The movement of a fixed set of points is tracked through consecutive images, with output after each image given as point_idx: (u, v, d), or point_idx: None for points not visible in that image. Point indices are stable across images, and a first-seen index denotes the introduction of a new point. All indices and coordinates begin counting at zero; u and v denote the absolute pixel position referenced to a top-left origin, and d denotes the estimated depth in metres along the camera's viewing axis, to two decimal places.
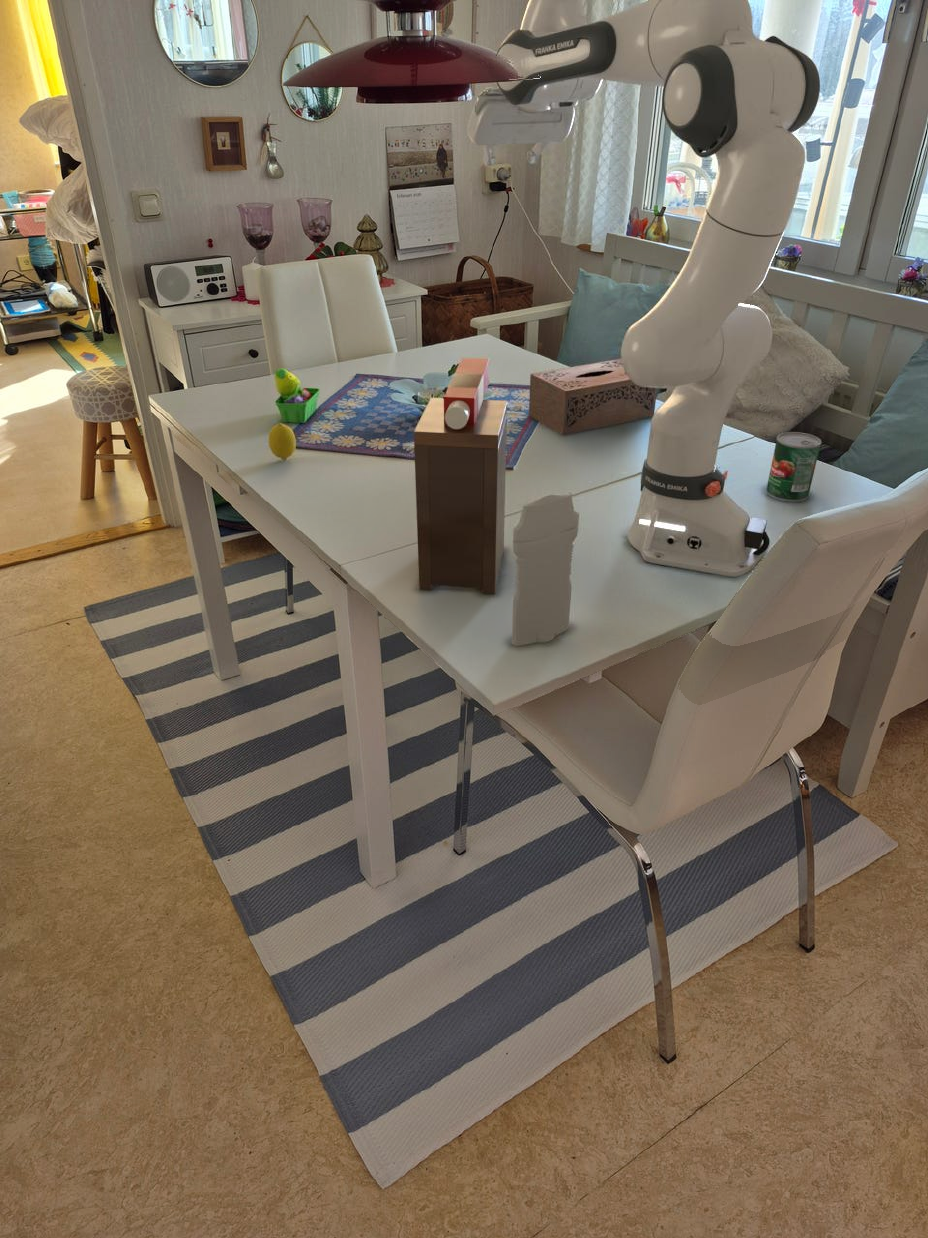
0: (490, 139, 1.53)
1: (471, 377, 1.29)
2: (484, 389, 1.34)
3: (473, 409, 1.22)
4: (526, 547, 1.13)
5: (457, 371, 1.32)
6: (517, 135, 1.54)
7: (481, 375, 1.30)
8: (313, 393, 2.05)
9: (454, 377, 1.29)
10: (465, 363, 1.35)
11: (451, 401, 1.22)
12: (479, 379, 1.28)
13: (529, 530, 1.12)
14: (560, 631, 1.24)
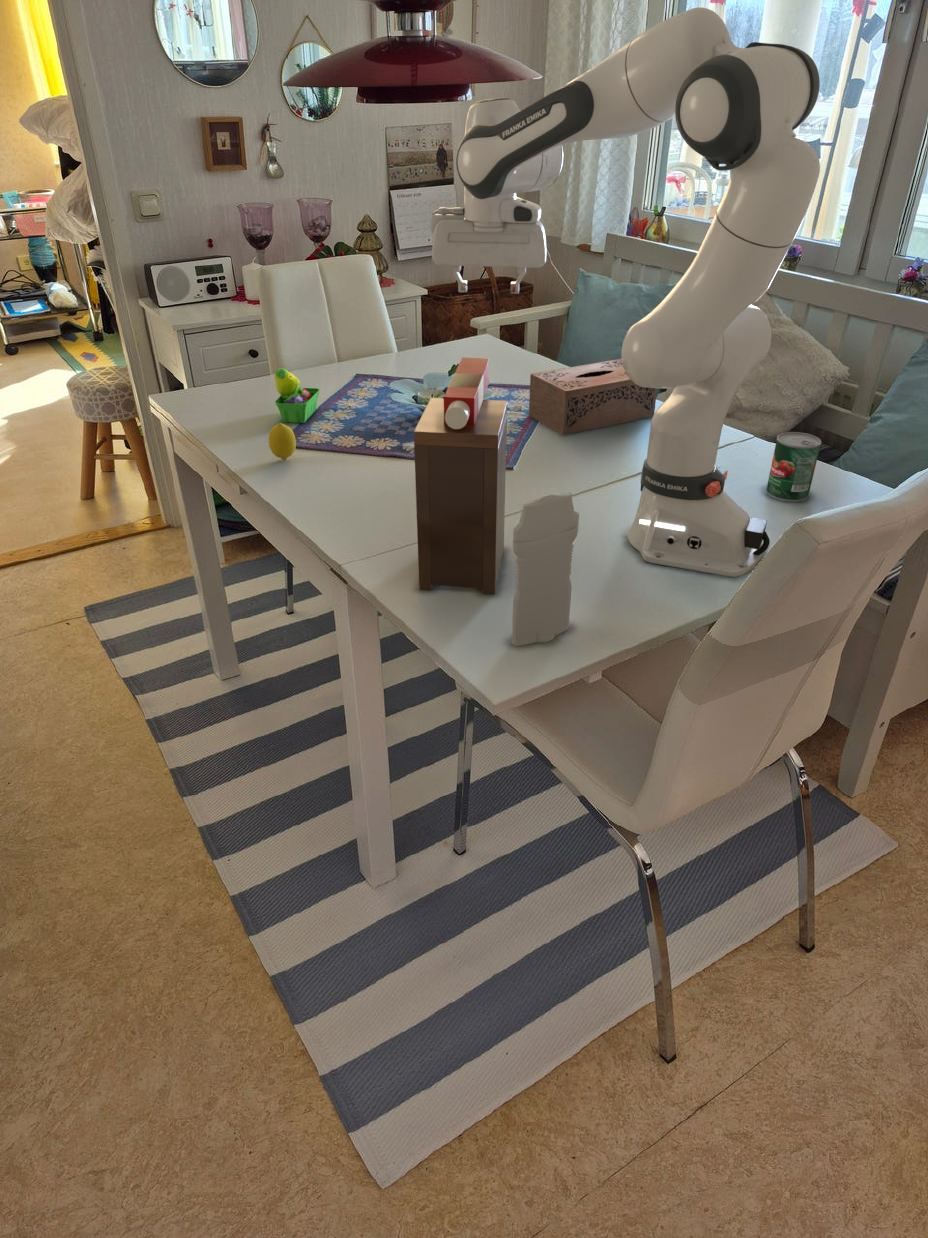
0: (449, 258, 1.51)
1: (471, 377, 1.29)
2: (484, 389, 1.34)
3: (473, 409, 1.22)
4: (526, 547, 1.13)
5: (457, 371, 1.32)
6: (480, 255, 1.50)
7: (481, 375, 1.30)
8: (313, 393, 2.05)
9: (454, 377, 1.29)
10: (465, 363, 1.35)
11: (451, 401, 1.22)
12: (479, 379, 1.28)
13: (529, 530, 1.12)
14: (560, 631, 1.24)
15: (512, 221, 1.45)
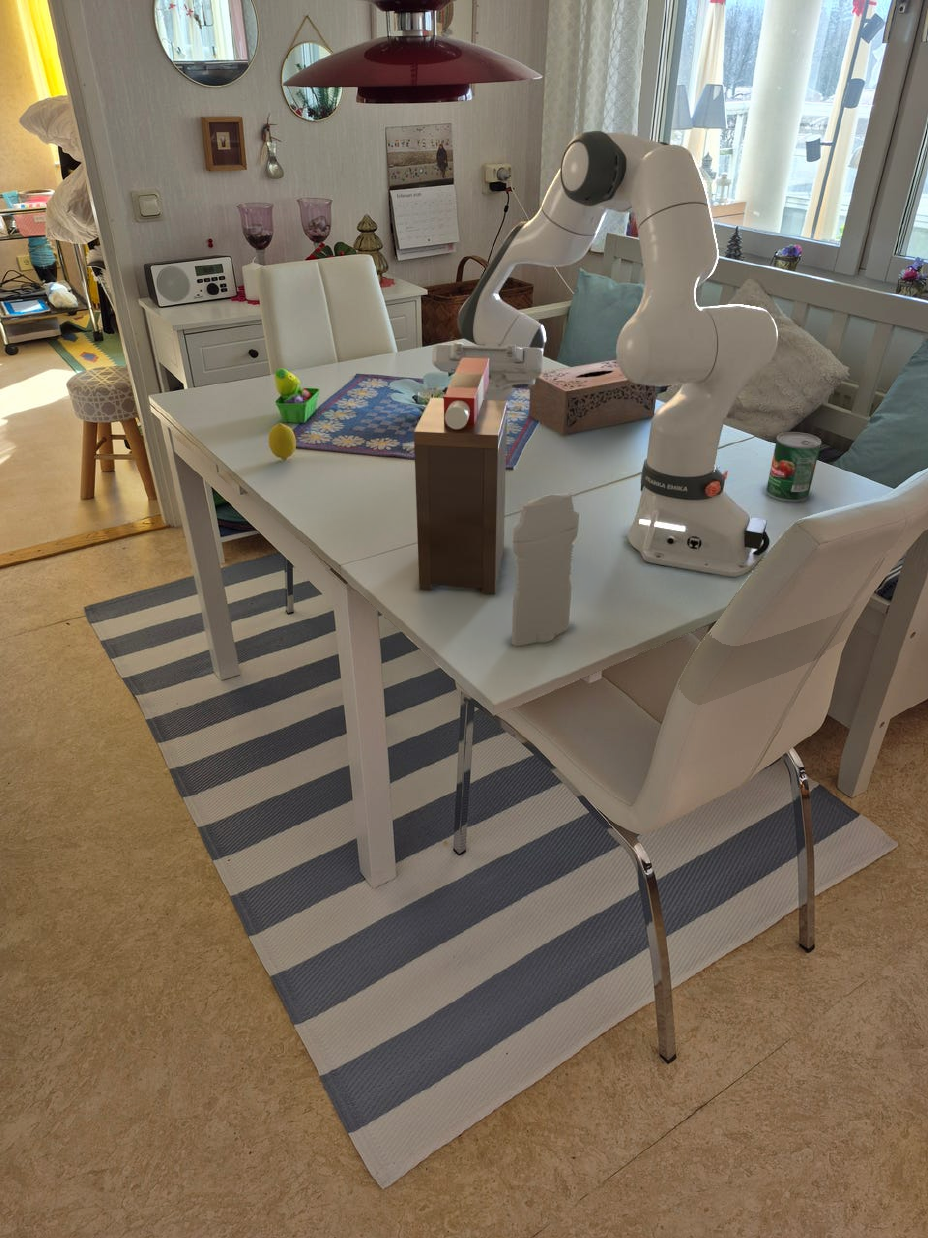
0: None
1: (471, 377, 1.29)
2: (484, 389, 1.34)
3: (473, 409, 1.22)
4: (526, 547, 1.13)
5: (457, 371, 1.32)
6: None
7: (481, 375, 1.30)
8: (313, 393, 2.05)
9: (454, 377, 1.29)
10: (465, 363, 1.35)
11: (451, 401, 1.22)
12: (479, 379, 1.28)
13: (529, 530, 1.12)
14: (560, 631, 1.24)
15: None
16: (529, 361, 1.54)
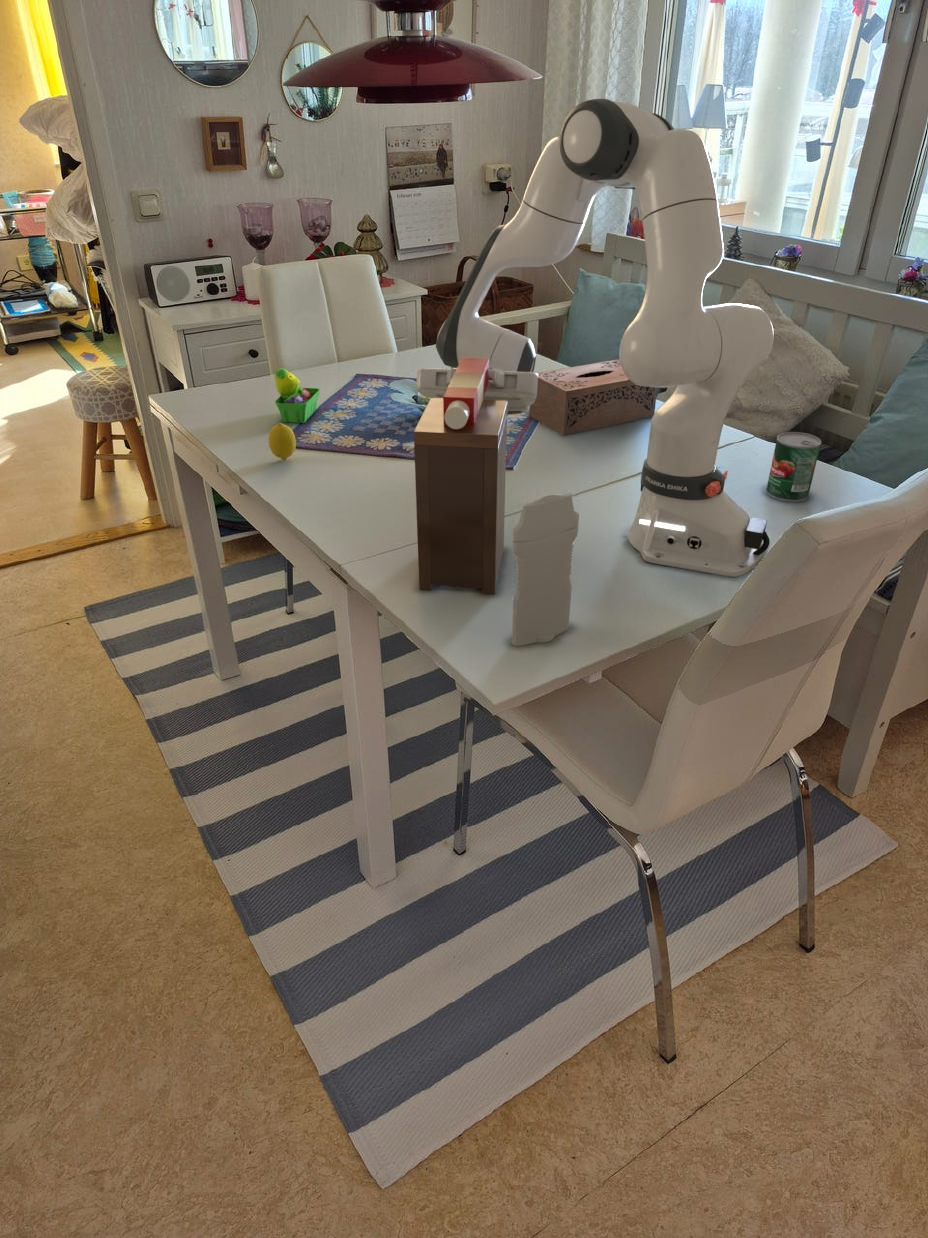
0: None
1: (471, 377, 1.29)
2: (484, 389, 1.34)
3: (473, 409, 1.22)
4: (526, 547, 1.13)
5: (457, 371, 1.32)
6: None
7: (481, 375, 1.30)
8: (313, 393, 2.05)
9: (454, 377, 1.29)
10: (465, 363, 1.35)
11: (451, 401, 1.22)
12: (479, 379, 1.28)
13: (529, 530, 1.12)
14: (560, 631, 1.24)
15: None
16: (523, 387, 1.40)
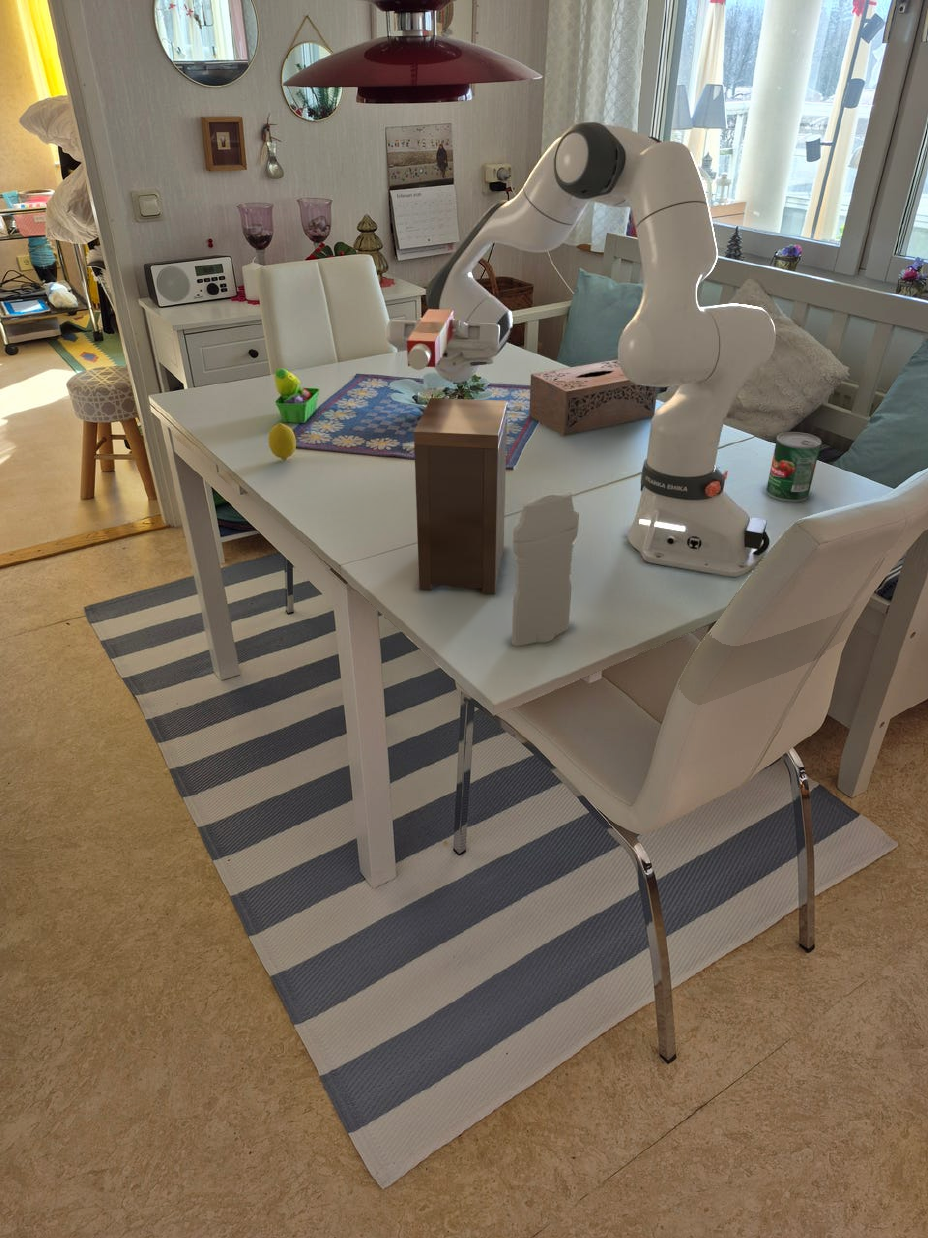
0: None
1: (434, 325, 1.39)
2: (447, 337, 1.44)
3: (434, 352, 1.32)
4: (526, 547, 1.13)
5: (422, 320, 1.42)
6: None
7: (444, 323, 1.40)
8: (313, 393, 2.05)
9: (418, 324, 1.39)
10: (431, 313, 1.46)
11: (414, 344, 1.32)
12: (441, 326, 1.39)
13: (529, 530, 1.12)
14: (560, 631, 1.24)
15: None
16: (485, 337, 1.50)
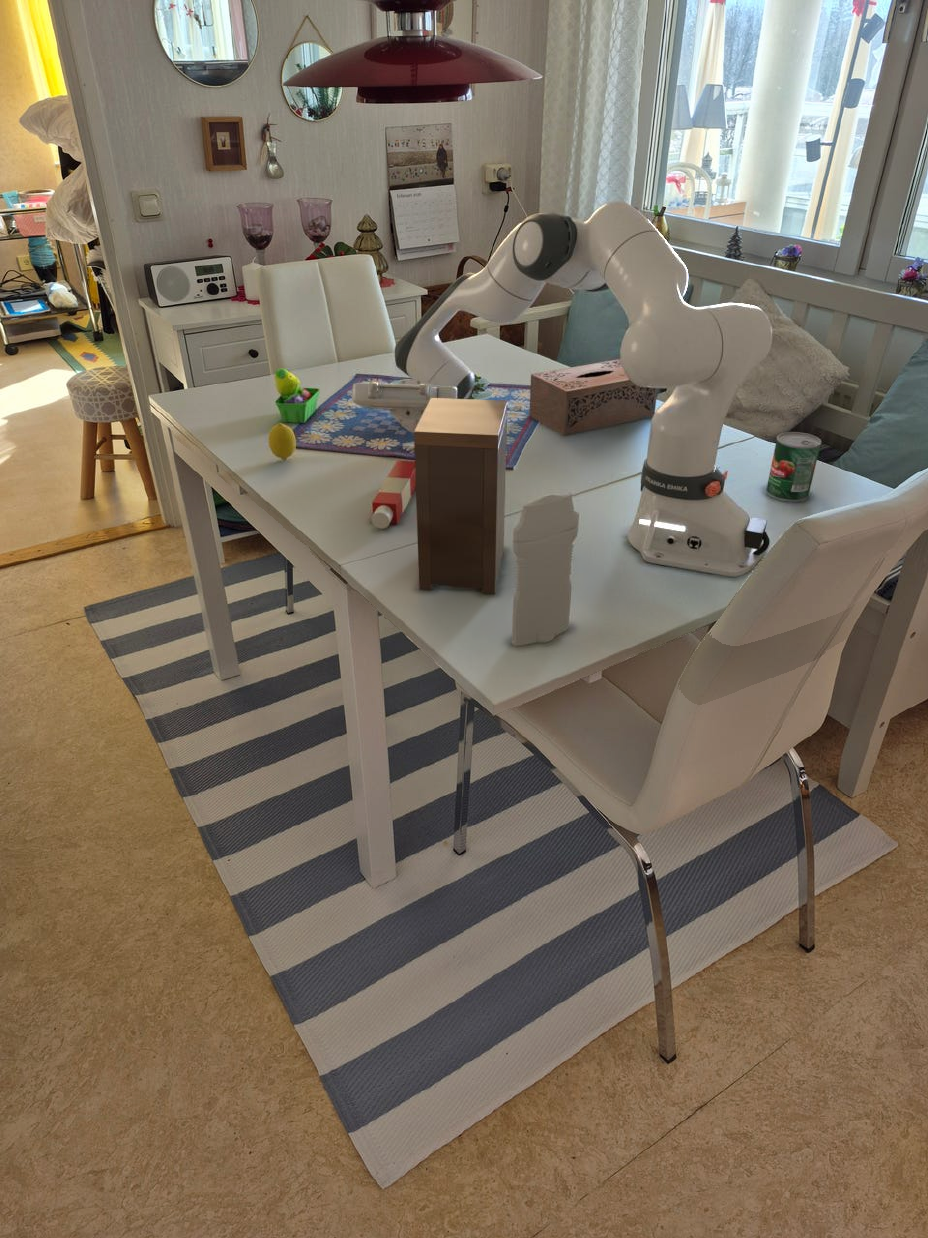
0: None
1: (399, 482, 1.60)
2: (412, 488, 1.65)
3: (395, 512, 1.54)
4: (526, 547, 1.13)
5: (389, 475, 1.63)
6: None
7: (407, 479, 1.61)
8: (313, 393, 2.05)
9: (385, 481, 1.61)
10: (398, 466, 1.67)
11: (378, 505, 1.53)
12: (405, 484, 1.60)
13: (529, 530, 1.12)
14: (560, 631, 1.24)
15: None
16: None
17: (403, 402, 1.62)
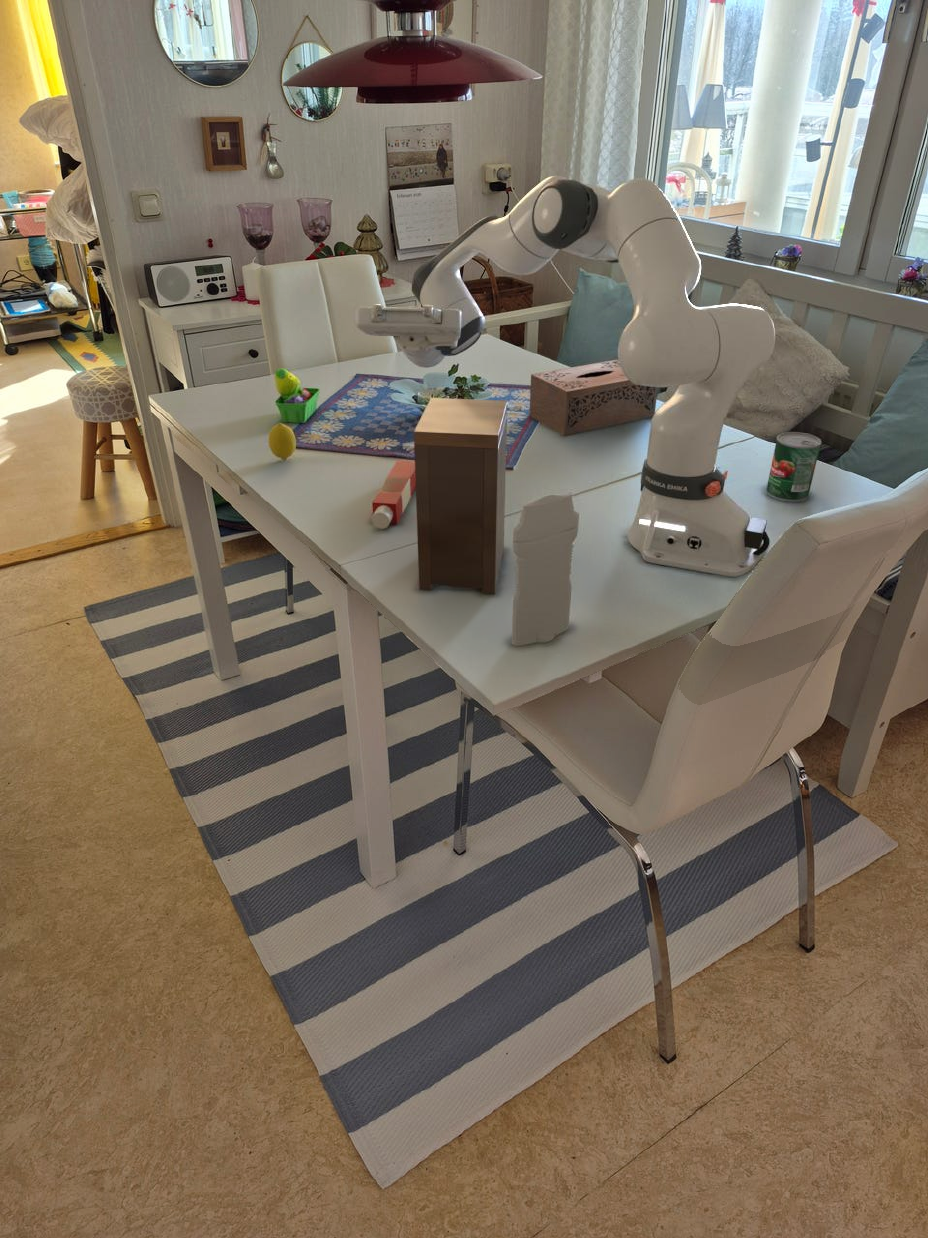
0: None
1: (399, 482, 1.60)
2: (412, 488, 1.65)
3: (395, 512, 1.54)
4: (526, 547, 1.13)
5: (389, 475, 1.63)
6: None
7: (407, 479, 1.61)
8: (313, 393, 2.05)
9: (385, 481, 1.61)
10: (398, 466, 1.67)
11: (378, 505, 1.53)
12: (405, 484, 1.60)
13: (529, 530, 1.12)
14: (560, 631, 1.24)
15: None
16: (447, 322, 1.60)
17: (407, 326, 1.61)
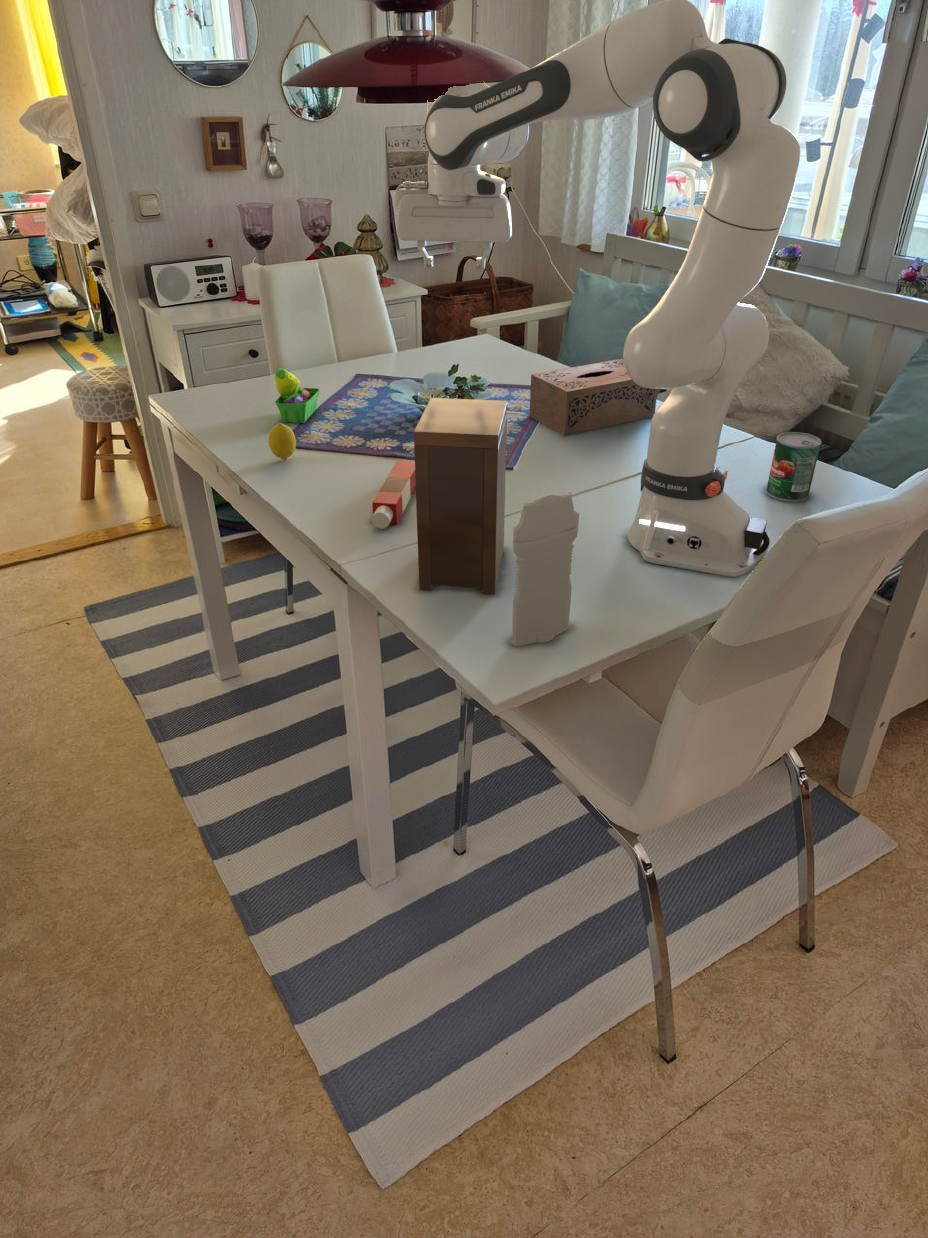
0: (414, 233, 1.50)
1: (399, 482, 1.60)
2: (412, 488, 1.65)
3: (395, 512, 1.54)
4: (526, 547, 1.13)
5: (389, 475, 1.63)
6: (444, 230, 1.49)
7: (407, 479, 1.61)
8: (313, 393, 2.05)
9: (385, 481, 1.61)
10: (398, 466, 1.67)
11: (378, 505, 1.53)
12: (405, 484, 1.60)
13: (529, 530, 1.12)
14: (560, 631, 1.24)
15: (476, 194, 1.44)
16: None
17: None
